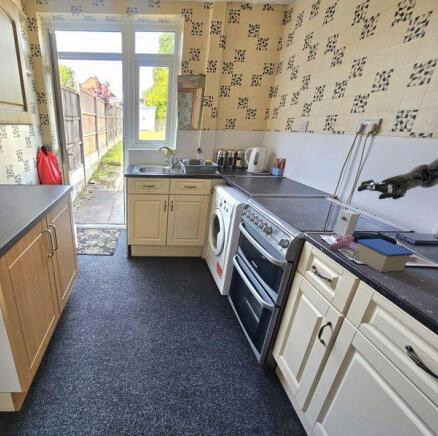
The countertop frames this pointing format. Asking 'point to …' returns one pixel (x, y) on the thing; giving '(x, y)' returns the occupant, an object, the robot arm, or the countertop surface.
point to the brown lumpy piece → (342, 242)
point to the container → (382, 255)
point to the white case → (346, 223)
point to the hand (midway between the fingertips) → (369, 193)
